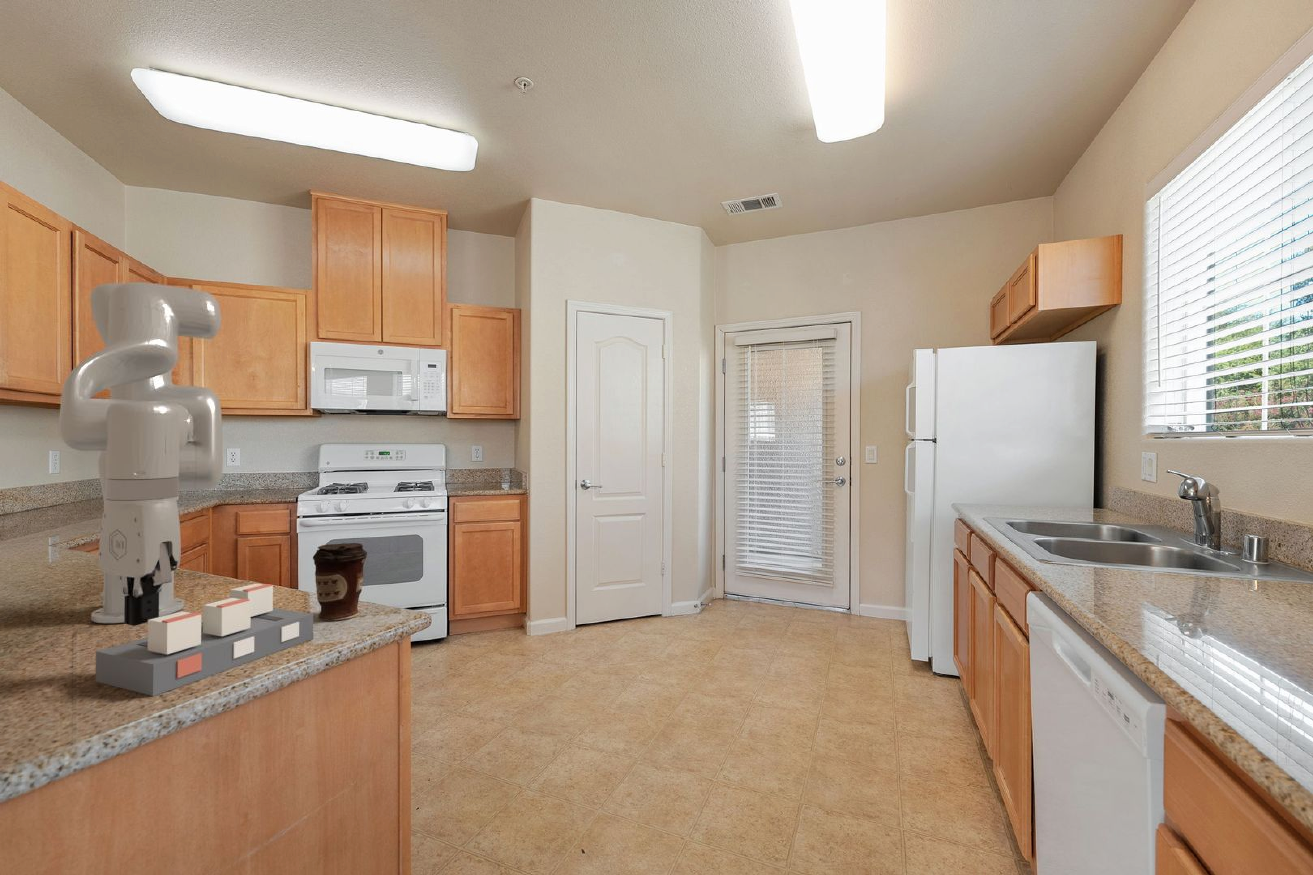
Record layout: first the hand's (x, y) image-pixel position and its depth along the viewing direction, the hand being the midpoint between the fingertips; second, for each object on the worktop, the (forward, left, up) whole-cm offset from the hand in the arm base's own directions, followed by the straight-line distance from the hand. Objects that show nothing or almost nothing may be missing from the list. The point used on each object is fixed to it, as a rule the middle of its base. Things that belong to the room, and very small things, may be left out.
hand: (141, 621), depth 79 cm
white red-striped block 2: (+2, +14, -2) cm, 14 cm away
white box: (+8, 0, -2) cm, 8 cm away
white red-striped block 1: (+7, +7, -2) cm, 10 cm away
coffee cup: (+5, +28, -7) cm, 29 cm away
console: (+5, +7, -7) cm, 11 cm away
